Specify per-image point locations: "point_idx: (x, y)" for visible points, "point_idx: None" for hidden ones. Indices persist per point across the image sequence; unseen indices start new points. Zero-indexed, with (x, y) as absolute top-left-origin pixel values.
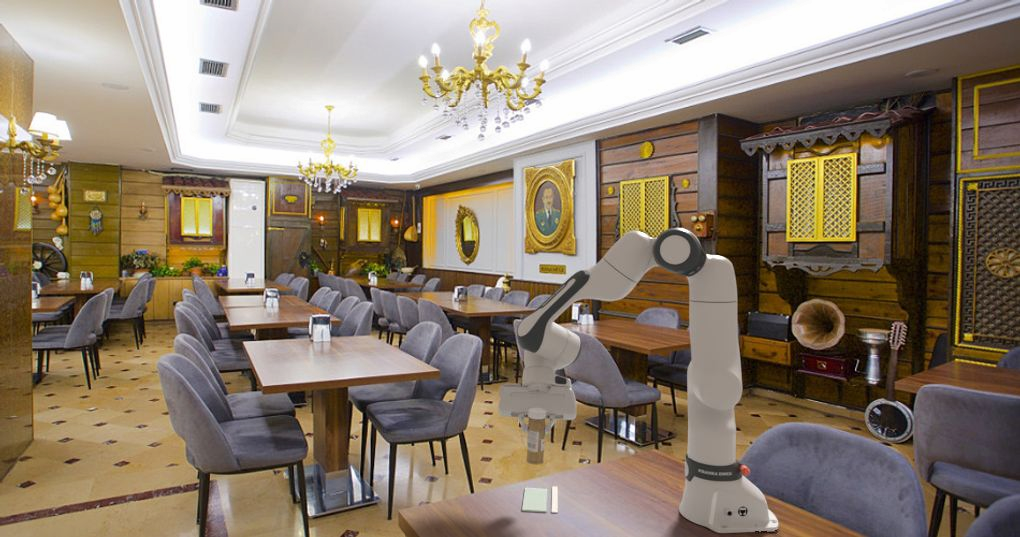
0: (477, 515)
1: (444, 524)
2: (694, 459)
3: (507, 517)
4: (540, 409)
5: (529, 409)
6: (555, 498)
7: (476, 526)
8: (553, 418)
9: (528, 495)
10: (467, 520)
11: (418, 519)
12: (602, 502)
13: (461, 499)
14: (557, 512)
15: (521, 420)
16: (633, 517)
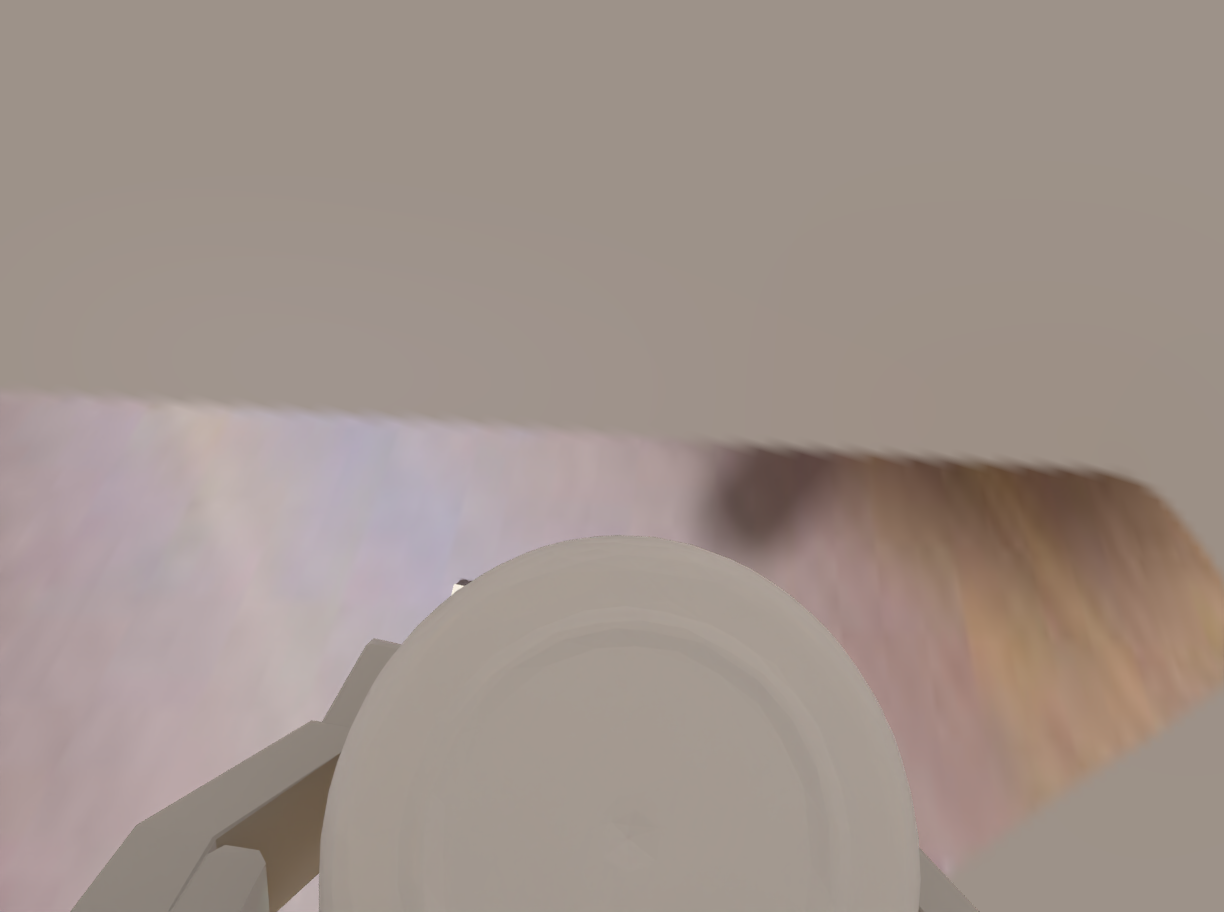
0: (891, 585)
1: (1034, 502)
2: None
3: (736, 554)
4: (512, 864)
5: (898, 847)
6: None
7: (884, 473)
8: (175, 837)
9: None
10: (934, 534)
11: (1168, 559)
12: (118, 722)
13: (1009, 800)
14: (455, 585)
15: (933, 887)
16: (26, 511)
